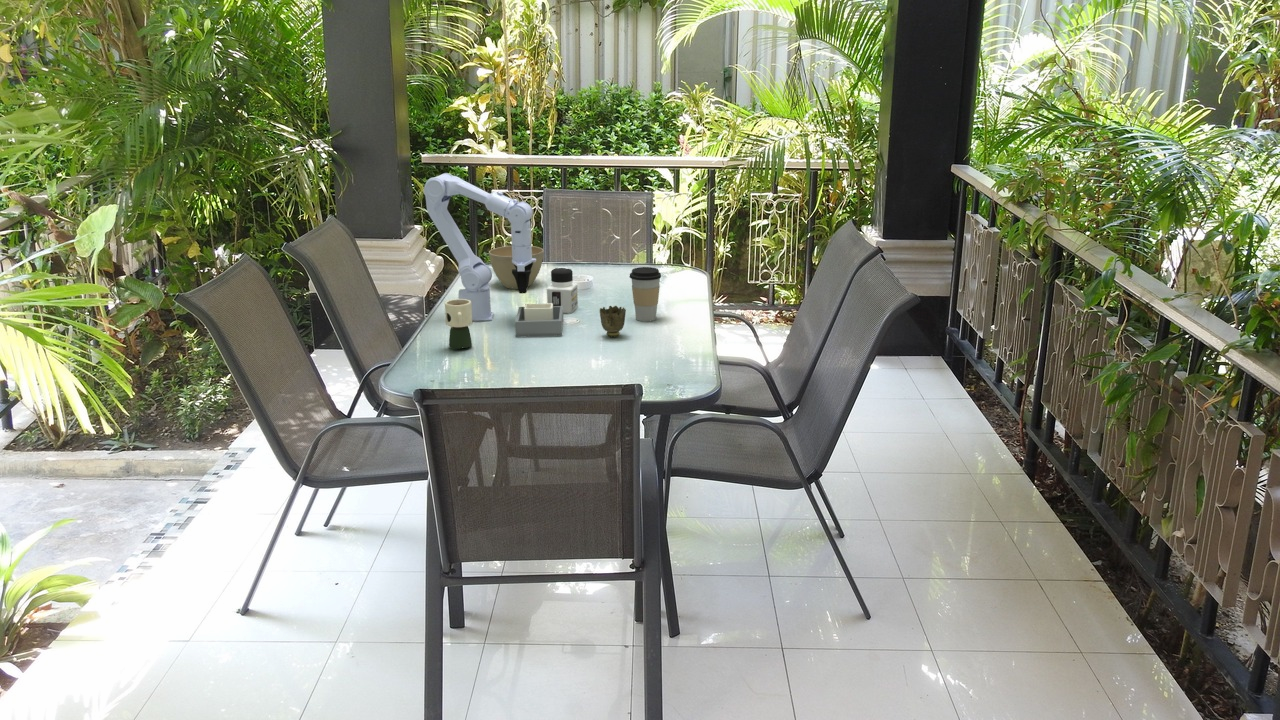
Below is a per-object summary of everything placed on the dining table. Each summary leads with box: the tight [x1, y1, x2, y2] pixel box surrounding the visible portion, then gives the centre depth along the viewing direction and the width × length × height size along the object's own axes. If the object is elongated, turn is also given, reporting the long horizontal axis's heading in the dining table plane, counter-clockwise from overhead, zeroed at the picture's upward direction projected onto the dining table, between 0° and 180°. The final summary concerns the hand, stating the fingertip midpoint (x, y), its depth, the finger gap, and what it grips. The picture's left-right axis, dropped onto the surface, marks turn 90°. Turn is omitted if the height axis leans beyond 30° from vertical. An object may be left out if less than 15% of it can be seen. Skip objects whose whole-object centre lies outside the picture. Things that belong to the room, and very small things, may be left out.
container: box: [546, 267, 579, 314], centre depth 328 cm, size 8×8×13 cm
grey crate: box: [514, 306, 564, 338], centre depth 310 cm, size 13×16×4 cm
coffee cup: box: [629, 266, 662, 323], centre depth 317 cm, size 9×9×15 cm
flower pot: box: [488, 245, 544, 290], centre depth 357 cm, size 18×18×12 cm
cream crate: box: [524, 302, 553, 321], centre depth 309 cm, size 8×5×6 cm
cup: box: [599, 305, 627, 338], centre depth 301 cm, size 8×7×8 cm
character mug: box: [444, 298, 473, 350], centre depth 292 cm, size 11×7×13 cm, turn 13°
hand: (523, 289), depth 316 cm, fingers open, 7 cm apart
